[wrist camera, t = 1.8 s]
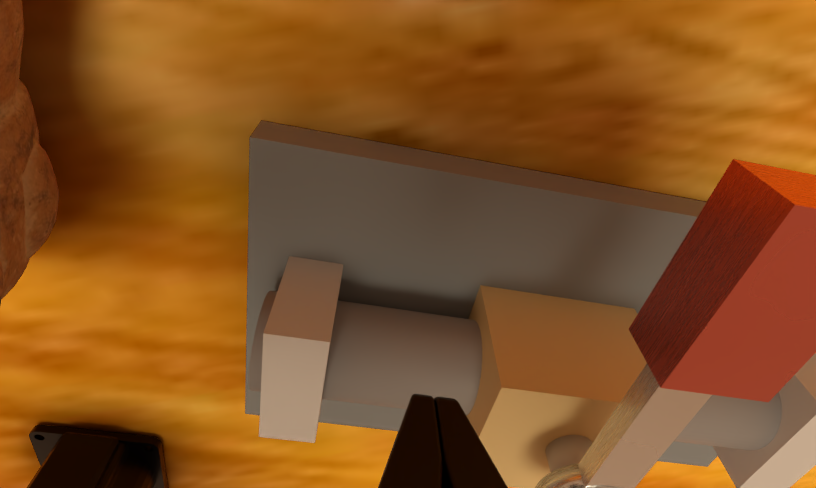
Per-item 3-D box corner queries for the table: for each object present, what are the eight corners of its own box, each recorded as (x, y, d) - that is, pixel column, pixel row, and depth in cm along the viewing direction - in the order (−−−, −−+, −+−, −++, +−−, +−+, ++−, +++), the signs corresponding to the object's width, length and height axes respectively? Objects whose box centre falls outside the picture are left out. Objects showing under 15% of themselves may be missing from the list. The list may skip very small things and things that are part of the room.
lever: (602, 505, 17) (622, 564, 15) (518, 497, 16) (530, 556, 15) (859, 184, 10) (941, 232, 8) (724, 157, 9) (784, 202, 8)
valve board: (693, 441, 27) (781, 601, 21) (253, 388, 24) (200, 553, 18) (875, 232, 19) (1103, 386, 13) (261, 120, 17) (173, 245, 10)
